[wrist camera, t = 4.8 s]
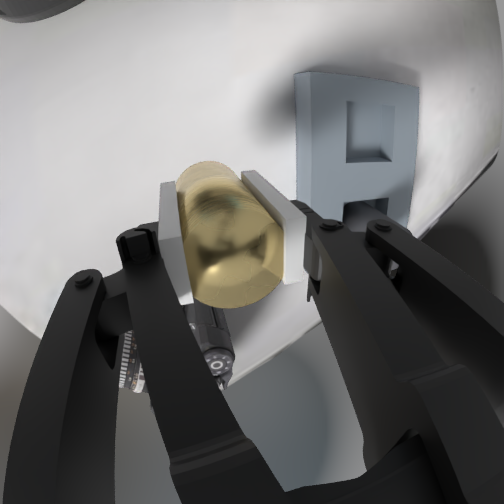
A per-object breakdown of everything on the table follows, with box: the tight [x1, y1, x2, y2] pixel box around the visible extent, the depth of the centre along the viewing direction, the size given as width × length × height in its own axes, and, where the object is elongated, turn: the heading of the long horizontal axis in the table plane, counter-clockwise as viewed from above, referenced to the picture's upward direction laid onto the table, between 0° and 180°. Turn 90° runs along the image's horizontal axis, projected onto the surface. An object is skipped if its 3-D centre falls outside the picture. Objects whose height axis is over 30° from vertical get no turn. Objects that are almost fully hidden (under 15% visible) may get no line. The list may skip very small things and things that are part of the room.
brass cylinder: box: [176, 161, 284, 308], centre depth 14 cm, size 4×4×8 cm
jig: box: [294, 72, 419, 273], centre depth 24 cm, size 18×12×8 cm, turn 3°
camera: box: [119, 297, 235, 414], centre depth 26 cm, size 14×11×10 cm
